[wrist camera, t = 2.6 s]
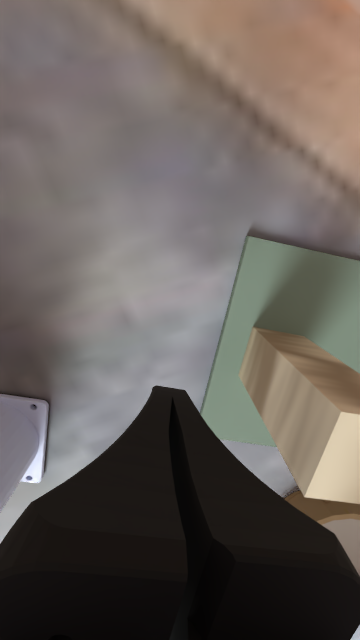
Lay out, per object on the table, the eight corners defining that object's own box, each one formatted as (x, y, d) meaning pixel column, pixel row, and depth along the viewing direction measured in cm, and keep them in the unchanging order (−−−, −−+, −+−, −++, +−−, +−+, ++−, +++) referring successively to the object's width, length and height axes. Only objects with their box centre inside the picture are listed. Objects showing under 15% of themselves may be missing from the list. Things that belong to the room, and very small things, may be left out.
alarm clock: (422, 532, 23) (344, 673, 23) (374, 489, 27) (311, 607, 28) (318, 494, 21) (238, 647, 22) (286, 455, 26) (222, 582, 27)
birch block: (238, 375, 20) (304, 497, 10) (252, 326, 19) (341, 411, 9) (286, 383, 20) (394, 508, 11) (303, 336, 19) (440, 427, 10)
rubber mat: (195, 430, 22) (196, 435, 21) (246, 236, 18) (248, 236, 17) (406, 461, 24) (412, 466, 23) (497, 292, 19) (507, 294, 19)
